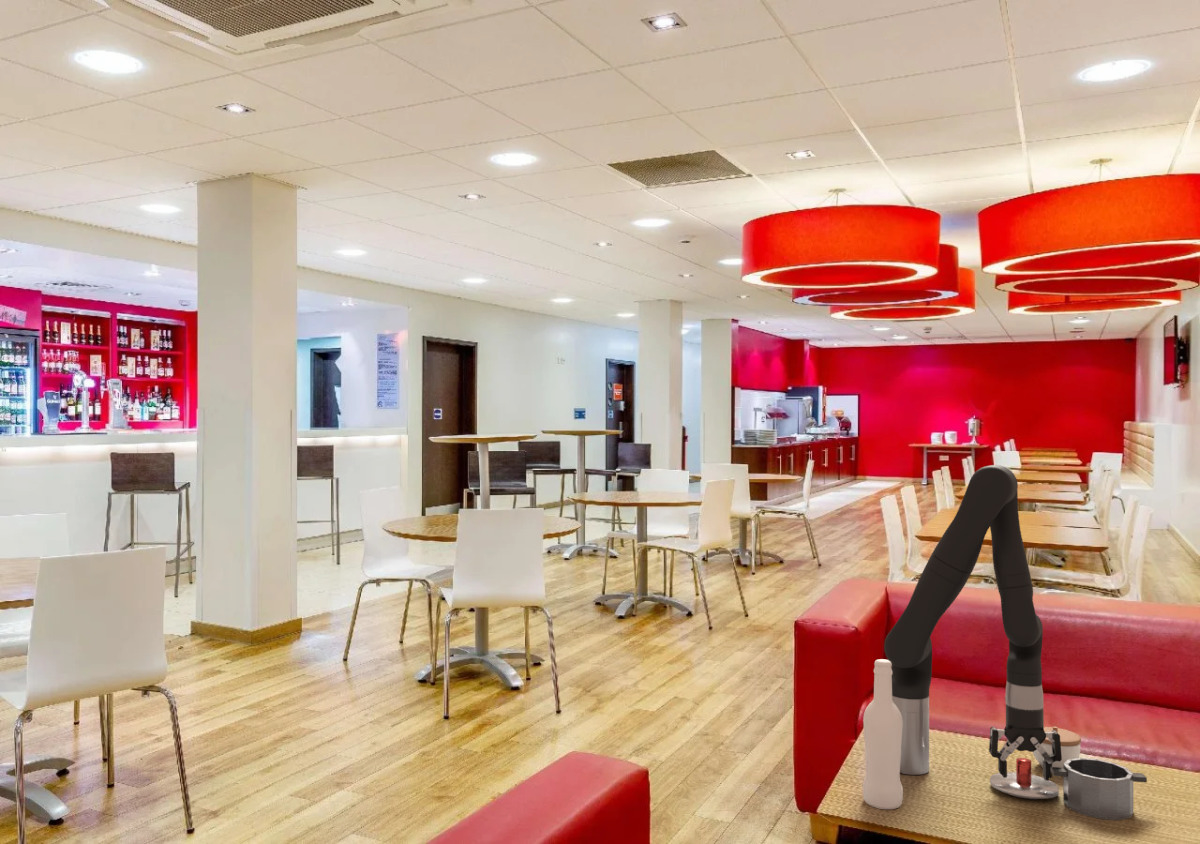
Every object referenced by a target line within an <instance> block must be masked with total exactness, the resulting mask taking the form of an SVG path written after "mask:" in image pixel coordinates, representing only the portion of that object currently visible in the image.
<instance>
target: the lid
mask: <svg viewBox="0 0 1200 844" xmlns="http://www.w3.org/2000/svg"><path fill="white" fill-rule="evenodd" d="M1015 760H1016V761H1015V762H1016V764H1015V765H1016V766H1015V768H1016V769H1015V771H1016V772H1014V771H1013V772H1011V771H1007V778H1003V776H1002V775H1001V774H1000V773H999V772H997V773H994V774H992V775H991V776H990V777H989V784H990V786H992V787H993V788H994V789H995V790H997V791H999V792H1002V793H1005V794H1007V795H1009V796H1012V797H1015V798H1018V799H1019V798H1020V799H1024V800H1045V799H1052V798H1055V797H1057V796H1058V795H1059V793H1060V791H1059V790H1060V788H1059V786H1058V785H1057V784H1056V783H1055V782H1053V780H1052V781H1051V780H1050V779H1049V781H1046V780H1045V779H1044V778H1043V776H1038V775H1035V774H1032V760H1031V759H1029V758H1024V757H1016V759H1015Z"/></svg>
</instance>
